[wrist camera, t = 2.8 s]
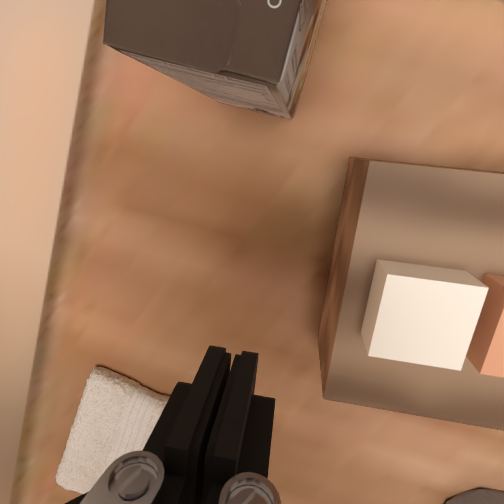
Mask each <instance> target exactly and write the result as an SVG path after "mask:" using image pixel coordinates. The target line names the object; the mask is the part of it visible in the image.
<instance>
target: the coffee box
mask: <svg viewBox="0 0 504 504" xmlns="http://www.w3.org/2000/svg"><path fill="white" fill-rule="evenodd" d="M326 1H327V0H107V2H106V12H105V26H104V39H103V44H105V45H108V46H110V47H112V48H113V49H115V50H117V51H119V52H121V53H123V54H125V55H127V56H129V57H131V58H133V59H135V60H137V61H139V62H141V63H143V64H145V65H147V66H149V67H151V68H153V69H155V70H157V71H159V72H161V73H163V74H165V75H167V76H169V77H171V78H173V79H175V80H177V81H179V82H181V83H183V84H185V85H187V86H189V87H191V88H193V89H195V90H197V91H199V92H201V93H203V94H204V95H206V96H209V97H211V98H212V99H214V100H216V101H218V102H221V103H224V104H228V105H233V106H237V107H241V108H245V109H249V110H252V111H256V112H260V113H264V114H268V115H273V116H277V117H281V118H285V119H290V120H291V119H292V118H293V117H294V114H295V111H296V108H297V104H298V101H299V97H300V94H301V91H302V87H303V84H304V80H305V77H306V73H307V70H308V66H309V63H310V59H311V55H312V52H313V48H314V45H315V41H316V37H317V34H318V30H319V26H320V23H321V19H322V16H323V12H324V8H325V5H326Z"/></svg>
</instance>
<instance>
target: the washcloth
mask: <svg viewBox="0 0 504 504" xmlns="http://www.w3.org/2000/svg"><path fill="white" fill-rule="evenodd" d="M86 382H87V383H86V386H85V388H84V393H83V397H82V398H81V403H80V404H79V407H78V412H77V416H76V418H75V421H74V424H73V425H72V427H71V428H70V429H71V432H70V436H69V439H68V441H67V445H66V449H65V451H64V454H63V458H62V460H61V463H60V465H59V467H58V470H57V475H56V476H55V478H56V482H57V484H59V485H60V486H62V487H63V488H64V489H65V490H73V491H77V492H79V493H82V494H85V493H87V492H89V491H90V490H91V488H92V487H93V486H94V484H95V483H96V482H97V481H98V479H99V478H100V477H101V475H102V474H103V473H104V471H105V470H106V469H107V468H108V467H109V466H110V464H111V463H112V462H113V461H114V460H116V459H117V458H119V457H120V456H122V455H124V454H126V453H129V452H132V451H141V450H143V448H144V446H145V444H146V442H147V440H148V439H149V437H150V435H151V433H152V431H153V429H154V427H155V425H156V423H157V421H158V419H159V417H160V415H161V413H162V411H163V409H164V407H165V405H166V404H167V402H168V400H169V398H170V396H166V395H161V394H159V393H156V392H154V391H152V390H150V389H148V388H146V387H143V386H141V385H140V383H139V382H136V381H134V380H132V379H129V378H127V377H126V376H122V375H120V374H119V373H116V372H113V371H111V370H109V369H106V368H104V367H100V366H99V367H96V366H95V367H94V368H93V370H92V372H91V374H90V377H89V378H88V379H87V381H86Z"/></svg>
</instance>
